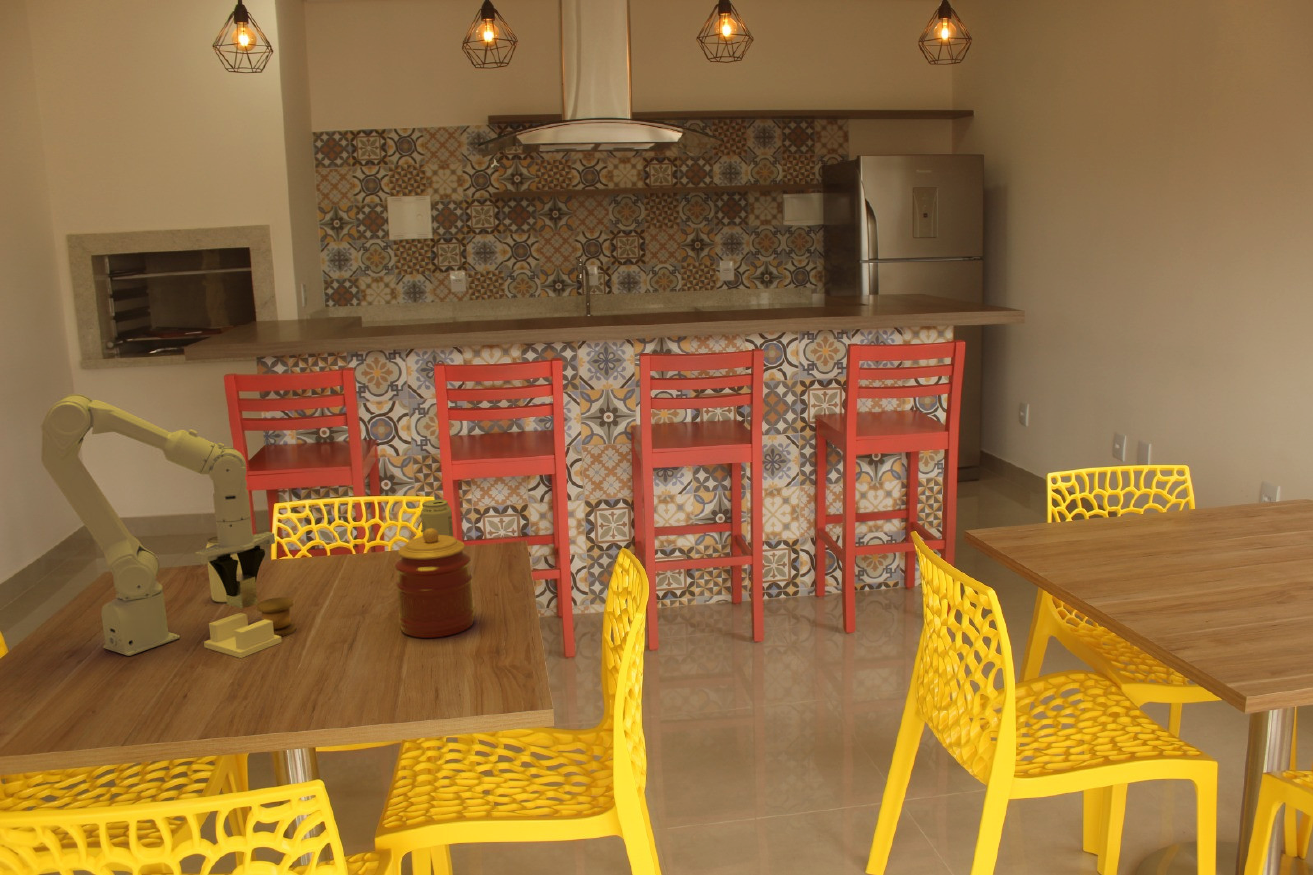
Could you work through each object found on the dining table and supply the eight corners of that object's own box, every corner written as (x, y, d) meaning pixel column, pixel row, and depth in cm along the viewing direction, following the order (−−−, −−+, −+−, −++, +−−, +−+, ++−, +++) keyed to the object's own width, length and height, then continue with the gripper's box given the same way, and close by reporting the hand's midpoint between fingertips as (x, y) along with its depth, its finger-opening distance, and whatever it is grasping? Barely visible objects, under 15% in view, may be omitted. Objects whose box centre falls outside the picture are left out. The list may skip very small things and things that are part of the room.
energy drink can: (424, 571, 216) (419, 500, 214) (454, 568, 218) (448, 497, 215) (427, 580, 211) (421, 507, 208) (457, 576, 212) (452, 504, 210)
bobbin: (274, 640, 181) (271, 611, 180) (252, 634, 184) (249, 605, 183) (303, 628, 186) (300, 600, 185) (281, 623, 189) (278, 595, 188)
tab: (242, 608, 184) (240, 581, 183) (227, 604, 187) (224, 577, 186) (257, 603, 187) (255, 576, 186) (241, 599, 189) (239, 572, 188)
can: (223, 605, 200) (216, 544, 198) (205, 599, 204) (198, 539, 202) (254, 595, 205) (247, 536, 203) (235, 590, 209) (229, 531, 207)
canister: (401, 643, 177) (392, 542, 174) (398, 618, 189) (390, 523, 186) (479, 633, 180) (471, 534, 177) (471, 609, 193) (464, 515, 190)
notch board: (240, 658, 173) (238, 635, 173) (204, 647, 179) (201, 624, 178) (281, 642, 180) (279, 619, 179) (245, 632, 185) (242, 610, 185)
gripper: (209, 530, 176) (218, 608, 178) (282, 511, 188) (289, 584, 190) (184, 525, 180) (193, 601, 182) (257, 507, 192) (265, 578, 194)
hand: (241, 592), depth 186 cm, fingers closed on tab, 3 cm apart
